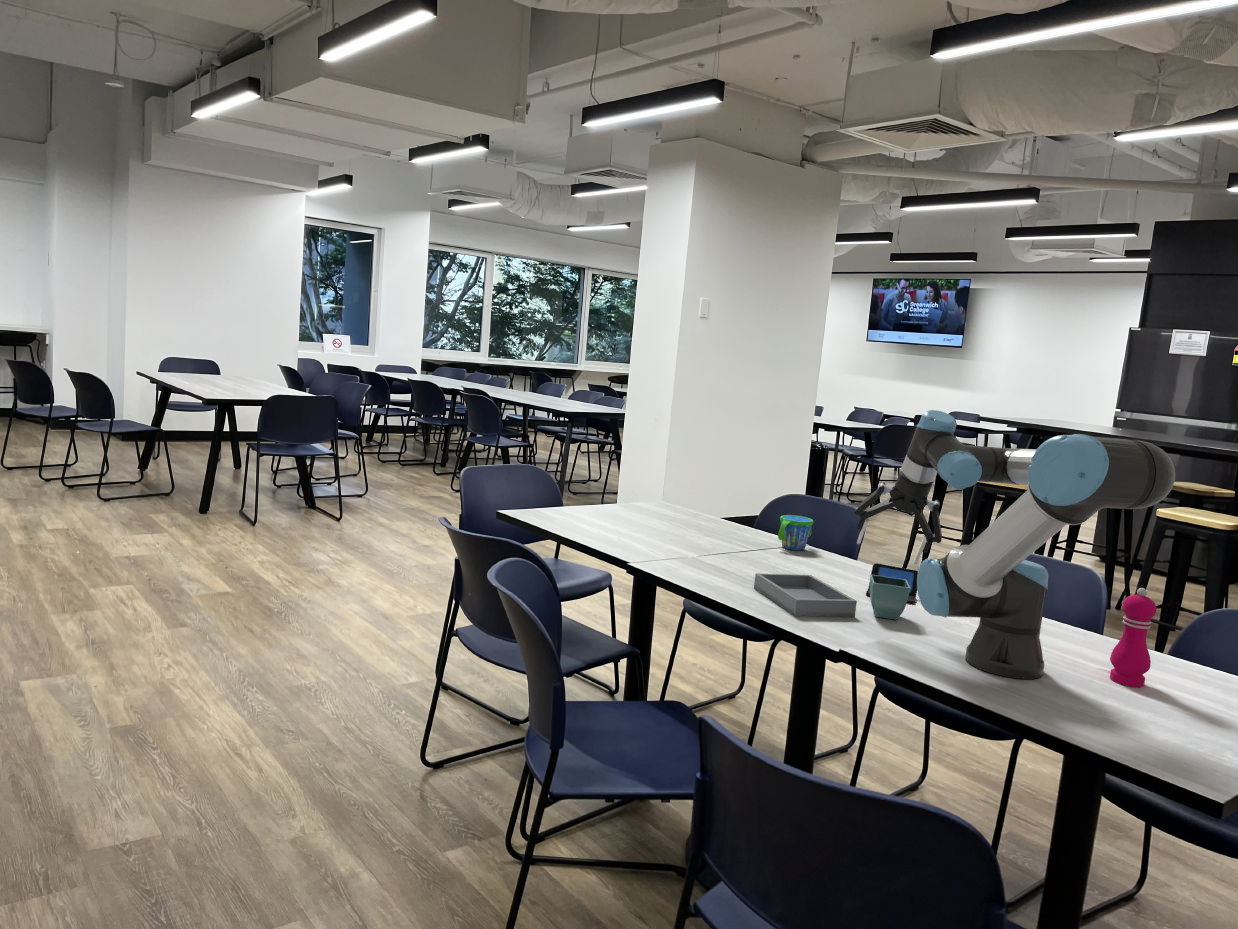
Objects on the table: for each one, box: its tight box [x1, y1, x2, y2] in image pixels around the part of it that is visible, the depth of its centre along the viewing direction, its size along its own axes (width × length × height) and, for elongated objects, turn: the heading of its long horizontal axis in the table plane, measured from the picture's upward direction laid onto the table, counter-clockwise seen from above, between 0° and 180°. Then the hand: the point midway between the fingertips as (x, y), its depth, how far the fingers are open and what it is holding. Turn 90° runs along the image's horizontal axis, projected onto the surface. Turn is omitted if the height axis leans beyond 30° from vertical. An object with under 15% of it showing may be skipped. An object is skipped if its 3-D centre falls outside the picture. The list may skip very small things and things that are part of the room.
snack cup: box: [777, 514, 814, 551], centre depth 285 cm, size 16×10×10 cm
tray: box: [753, 572, 858, 618], centre depth 219 cm, size 24×16×4 cm, turn 15°
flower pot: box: [869, 574, 910, 621], centre depth 212 cm, size 9×9×9 cm
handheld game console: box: [865, 562, 918, 605], centre depth 233 cm, size 12×11×7 cm
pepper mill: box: [1109, 587, 1157, 688], centre depth 179 cm, size 7×7×20 cm
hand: (887, 551), depth 206 cm, fingers open, 13 cm apart
